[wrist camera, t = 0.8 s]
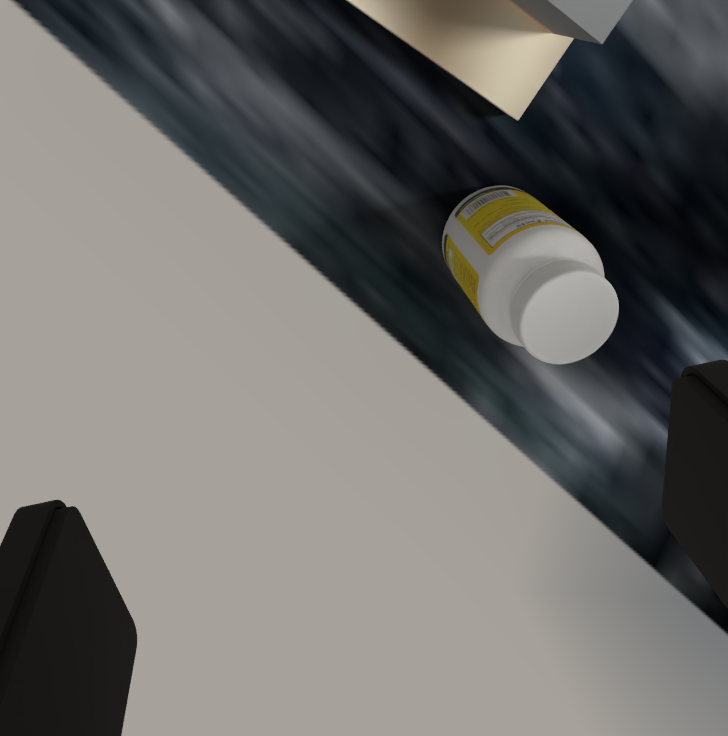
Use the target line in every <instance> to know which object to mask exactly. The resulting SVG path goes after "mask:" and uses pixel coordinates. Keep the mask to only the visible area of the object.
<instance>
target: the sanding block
mask: <svg viewBox="0 0 728 736" xmlns="http://www.w3.org/2000/svg"><path fill="white" fill-rule="evenodd" d="M509 1H511V2H512V3H513V4H514V5H516V6H517V7H518V8H519V9H521V10H522V11H523V12H524V13H526V14H527V15H528V16H530V17H531V18H532V19H533V20H535V21H536V22H537V23H538V24H540V25H541V26H542V27H544V28H545V29H546V30H547V31H549V32H550V33H552V34H557V35H562V36H566V37H571V38H576V39H580V40H585V41H590V42H594V43H599V44H603V42H604V41H605V39H606V38H607V36H608V35H609V33H610V32H611V31H612V29H613V28H614V26H615V25H616V23H617V22H618V21H619V19H620V18H621V16H622V15H623V13H624V12H625V10H626V9H627V8H628V6H629V5H630V3H631V2H632V0H509Z"/></svg>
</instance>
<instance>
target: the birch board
mask: <svg viewBox="0 0 728 736" xmlns="http://www.w3.org/2000/svg"><path fill="white" fill-rule="evenodd" d="M346 1H347V2H349V3H350V4H352V5H353V6H354V7H356V8H357V9H359V10H360V11H361V12H363V13H364V14H366V15H367V16H369V17H370V18H371V19H373V20H374V21H376V22H377V23H378V24H380V25H381V26H383V27H384V28H386V29H387V30H388V31H390V32H391V33H393V34H394V35H395V36H397V37H398V38H400V39H401V40H403V41H404V42H405V43H407V44H408V45H410V46H411V47H412V48H414V49H415V50H417V51H418V52H419V53H421V54H422V55H424V56H425V57H427V58H428V59H429V60H431V61H432V62H434V63H435V64H436V65H438V66H439V67H441V68H442V69H444V70H445V71H446V72H448V73H449V74H451V75H452V76H453V77H455V78H456V79H458V80H459V81H461V82H462V83H463V84H465V85H466V86H468V87H469V88H470V89H472V90H473V91H475V92H476V93H477V94H479V95H480V96H482V97H483V98H485V99H486V100H487V101H489V102H490V103H492V104H493V105H494V106H496V107H497V108H499V109H500V110H502V111H503V112H504V113H506V114H507V115H509V116H511V117H512V118H514V119H516V120H519V119H520V117H521V116H522V114H523V113H524V111H525V110H526V108H527V107H528V105H529V104H530V102H531V101H532V99H533V98H534V96H535V95H536V94H537V92H538V91H539V89H540V88H541V86H542V85H543V83H544V82H545V80H546V79H547V77H548V76H549V74H550V73H551V71H552V70H553V68H554V67H555V66H556V64H557V63H558V61H559V60H560V58H561V57H562V55H563V54H564V52H565V51H566V49H567V48H568V46H569V45H570V43H571V42H572V40H573V39H574V38H571V37H566V36H562V35H557V34H552V33H550V32H549V31H547V30H546V29H545V28H544V27H542V26H541V25H540V24H538V23H537V22H536V21H535V20H533V19H532V18H531V17H530V16H528V15H527V14H526V13H524V12H523V11H522V10H521V9H519V8H518V7H517V6H516V5H514V4H513V3H512V2H511V1H509V0H346Z"/></svg>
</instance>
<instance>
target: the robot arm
mask: <svg viewBox="0 0 728 736" xmlns="http://www.w3.org/2000/svg"><path fill="white" fill-rule="evenodd" d="M662 512H663V516H664V520H665V522H666V524H667V527H668V528H669V530H670V531H671V533H672V534H673V535H674V537H675V538H676V539H677V541H678V542H679V544H680V545H681V546H682V548H683V549H684V550H685V552H686V553H687V554H688V556H689V557H690V558H691V560H692V561H693V562H694V564H695V565H696V567H697V568H698V569H699V571H700V572H701V573H702V575H703V576H704V577H705V579H706V580H707V581H708V583H709V584H710V585H711V587H712V588H713V590H714V591H715V592H716V594H717V595H718V596H719V598H720V599H721V600H722V602H723V603H724V604H725V606H726V607H727V608H728V361H726V360H718V361H713V362H708V363H703V364H699V365H694V366H689V367H687V368H685V369H684V370H683V372H682V375H681V378H677V379H676V380H674V382H673V385H672V393H671V405H670V417H669V429H668V441H667V453H666V465H665V477H664V489H663V500H662ZM136 648H137V634H136V627H135V624H134V621H133V619H132V617H131V615H130V613H129V611H128V609H127V607H126V605H125V603H124V601H123V599H122V597H121V595H120V593H119V591H118V589H117V587H116V585H115V582H114V581H113V578H112V577H111V574H110V572H109V570H108V568H107V566H106V564H105V562H104V560H103V558H102V556H101V554H100V552H99V550H98V548H97V546H96V544H95V542H94V540H93V538H92V536H91V534H90V532H89V530H88V528H87V526H86V524H85V522H84V520H83V518H82V516H81V514H80V512H79V511H78V509H77V508H76V507H73V506H72V507H66V505H65V504H64V503H63V502H62V501H60V500H53V501H49V502H44V503H40V504H35V505H30V506H26V507H21V508H19V509H18V510H17V511H16V513H15V514H14V516H13V519H12V521H11V523H10V526H9V528H8V530H7V532H6V534H5V537H4V539H3V541H2V543H1V546H0V736H121V733H122V727H123V722H124V716H125V710H126V704H127V698H128V693H129V688H130V682H131V676H132V671H133V665H134V659H135V654H136Z"/></svg>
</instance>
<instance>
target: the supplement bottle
mask: <svg viewBox="0 0 728 736" xmlns="http://www.w3.org/2000/svg"><path fill="white" fill-rule="evenodd" d="M442 251H443V256H444V259H445V262H446V264H447V266H448V268H449V270H450V272H451V273H452V275H453V276H454V278H455V279H456V281H457V282H458V283H459V285H460V286H461V288H462V289H463V291H464V292H465V293H466V295H467V296H468V298H469V299H470V301H471V302H472V304H473V305H474V307H475V308H476V310H477V311H478V313H479V314H480V316H481V317H482V319H483V320H484V321H485V323H486V324H487V325H488V327H489V328H490V329H491V330H492V331H493V332H494V333H495V334H496V335H497V336H499V337H500V338H501V339H503V340H505V341H507V342H509V343H511V344H514V345H518V346H522V347H525V349H526V350H527V351H528V352H529V353H530V354H531V355H532V356H533V357H535V358H537V359H538V360H540V361H543V362H546V363H550V364H568V363H572V362H576V361H578V360H581V359H583V358H585V357H587V356H589V355H590V354H592V353H594V352H595V351H596V350H597V349H598V348H600V347H601V346H602V345H603V344H604V342H605V341H606V340H607V339H608V337H609V336H610V334H611V333H612V331H613V329H614V327H615V324H616V322H617V318H618V312H619V303H618V298H617V295H616V292H615V290H614V288H613V287H612V285H611V284H610V283H609V282H608V281H607V280H606V279H605V278H604V268H603V264H602V261H601V258H600V256H599V254H598V252H597V251H596V249H595V248H594V246H593V245H592V244H591V243H590V242H589V241H588V240H587V239H586V238H585V237H584V236H583V235H582V234H581V233H579V232H578V231H577V230H575V229H574V228H573V227H571V226H570V225H569V224H567V223H566V222H565V221H564V220H562V219H561V218H560V217H559V216H557V215H556V214H555V213H553V212H552V211H551V210H549V209H548V208H547V207H546V206H544V205H543V204H542V203H540V202H539V201H538V200H537V199H535V198H534V197H532V196H531V195H530V194H528V193H526V192H524V191H523V190H520V189H518V188H514V187H511V186H491V187H486V188H483V189H480V190H478V191H476V192H474V193H472V194H471V195H469V196H467V197H466V198H465V199H463V200H462V201H461V202H460V203H459V204H458V205H457V207H456V208H455V209H454V210H453V212H452V213H451V215H450V217H449V218H448V220H447V223H446V225H445V228H444V232H443V237H442Z"/></svg>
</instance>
